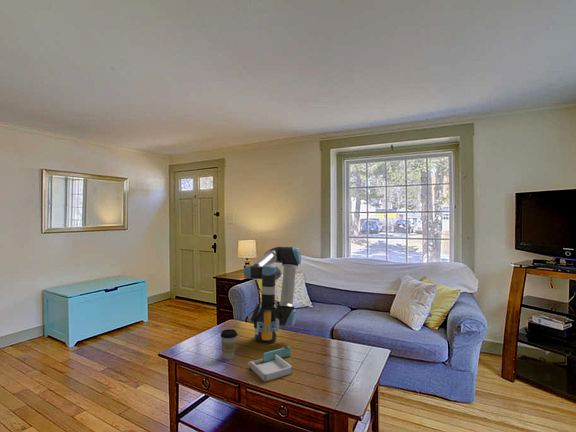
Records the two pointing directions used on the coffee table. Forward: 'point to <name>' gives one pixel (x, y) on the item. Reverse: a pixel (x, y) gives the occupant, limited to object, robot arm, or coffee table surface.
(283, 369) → the white square tray
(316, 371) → the coffee table surface
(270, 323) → the orange tube with rings
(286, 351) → the gate
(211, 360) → the coffee table surface
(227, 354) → the coffee cup
